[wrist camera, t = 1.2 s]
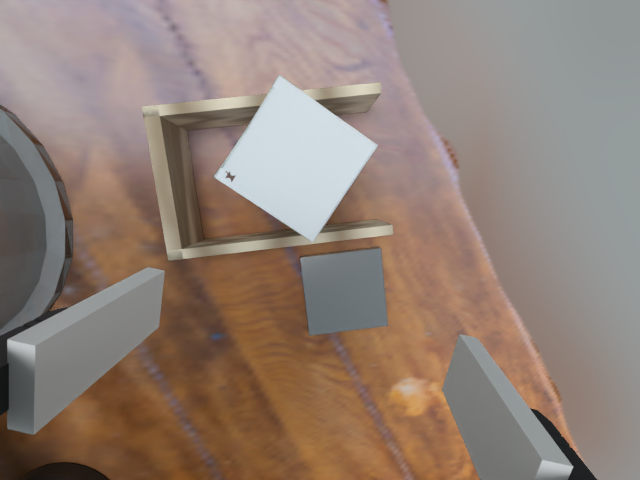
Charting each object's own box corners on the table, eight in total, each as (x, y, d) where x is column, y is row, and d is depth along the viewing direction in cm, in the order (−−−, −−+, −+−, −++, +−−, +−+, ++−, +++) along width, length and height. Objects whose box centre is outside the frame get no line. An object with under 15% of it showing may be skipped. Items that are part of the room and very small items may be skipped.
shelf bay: (192, 248, 44) (168, 260, 36) (172, 123, 42) (142, 106, 34) (377, 227, 44) (393, 234, 36) (366, 103, 42) (380, 82, 34)
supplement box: (308, 228, 44) (311, 249, 27) (245, 186, 43) (208, 181, 26) (351, 163, 43) (382, 143, 27) (288, 118, 42) (278, 69, 26)
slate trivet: (309, 331, 46) (309, 335, 44) (300, 256, 44) (299, 257, 43) (385, 322, 46) (387, 325, 45) (378, 246, 45) (380, 248, 43)
